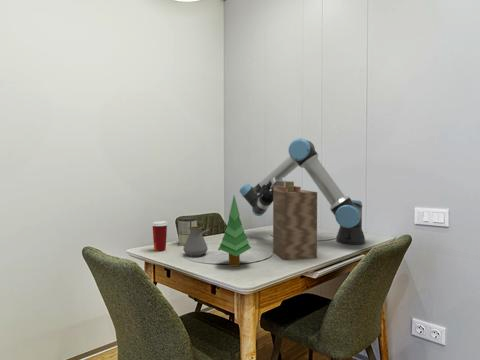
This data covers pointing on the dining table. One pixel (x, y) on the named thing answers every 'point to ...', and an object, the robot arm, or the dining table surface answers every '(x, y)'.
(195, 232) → the coffee pot
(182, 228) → the coffee can
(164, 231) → the paper cup
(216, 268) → the dining table surface
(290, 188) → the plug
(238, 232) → the decorative tree
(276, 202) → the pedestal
